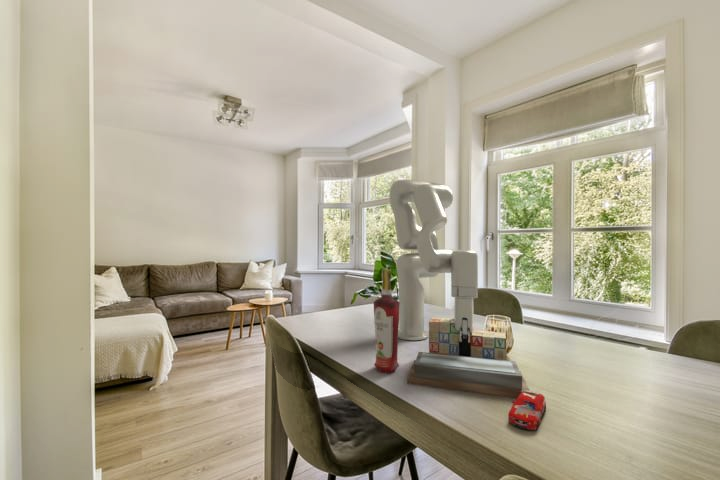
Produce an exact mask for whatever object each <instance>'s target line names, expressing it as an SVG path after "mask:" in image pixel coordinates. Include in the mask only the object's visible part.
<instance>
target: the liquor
mask: <svg viewBox="0 0 720 480" xmlns="http://www.w3.org/2000/svg"><path fill="white" fill-rule="evenodd" d="M381 279H382V283H381V284H382V285H381V296H380V297H378V298H377V299H375V300H374V301H373V320H374V337H375V339H374V340H375V342H374V343H375V363H374V364H373V365H374V367H375V368H376V369H377V370H378V371H379V372H381V373H384V374H385V373H387V374H389V373H390V374H391V373H394V372H395V371H396V370H397V369H398V368H399V366H400V364H399V362H398V352H399V351H398V345H399V338H398V330H399V305H400V302H399V299H397V298H395V297H393V296H392V295H393V294H392V286H391V283H392V282H391V280H392V269H385V268H383V269H381Z"/></svg>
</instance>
